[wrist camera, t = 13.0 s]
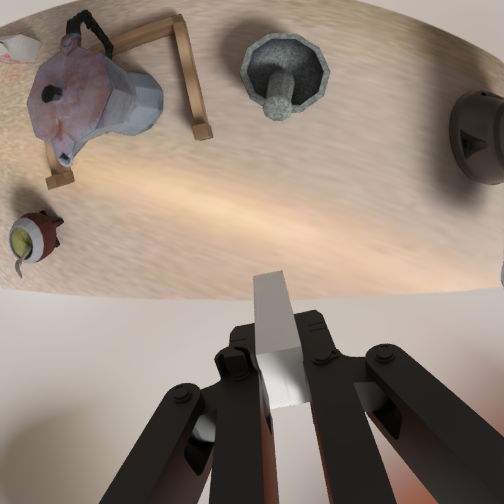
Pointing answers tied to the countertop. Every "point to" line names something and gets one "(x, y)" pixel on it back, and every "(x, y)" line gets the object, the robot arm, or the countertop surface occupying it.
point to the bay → (179, 28)
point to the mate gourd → (33, 238)
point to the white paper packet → (18, 49)
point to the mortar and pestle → (284, 74)
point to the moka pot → (89, 95)
